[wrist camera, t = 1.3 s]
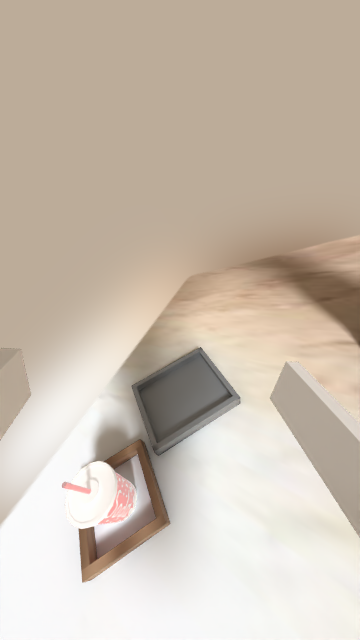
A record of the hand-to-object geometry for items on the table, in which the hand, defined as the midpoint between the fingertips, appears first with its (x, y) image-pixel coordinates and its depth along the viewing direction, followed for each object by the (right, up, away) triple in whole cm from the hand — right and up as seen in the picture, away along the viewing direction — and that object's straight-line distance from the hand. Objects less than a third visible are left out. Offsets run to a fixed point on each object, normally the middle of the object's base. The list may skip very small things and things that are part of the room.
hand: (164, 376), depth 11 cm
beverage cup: (-8, -24, +20) cm, 32 cm away
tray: (+2, -12, +29) cm, 31 cm away
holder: (-8, -23, +20) cm, 32 cm away
